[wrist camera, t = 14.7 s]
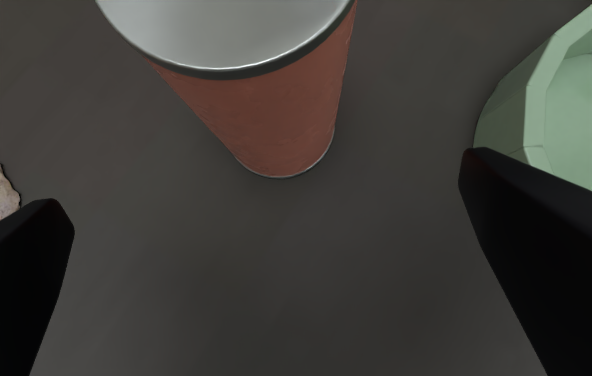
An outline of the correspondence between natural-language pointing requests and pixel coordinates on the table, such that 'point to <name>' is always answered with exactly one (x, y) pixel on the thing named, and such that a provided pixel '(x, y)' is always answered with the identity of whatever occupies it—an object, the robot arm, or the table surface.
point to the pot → (547, 106)
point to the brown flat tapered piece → (7, 197)
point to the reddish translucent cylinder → (249, 70)
